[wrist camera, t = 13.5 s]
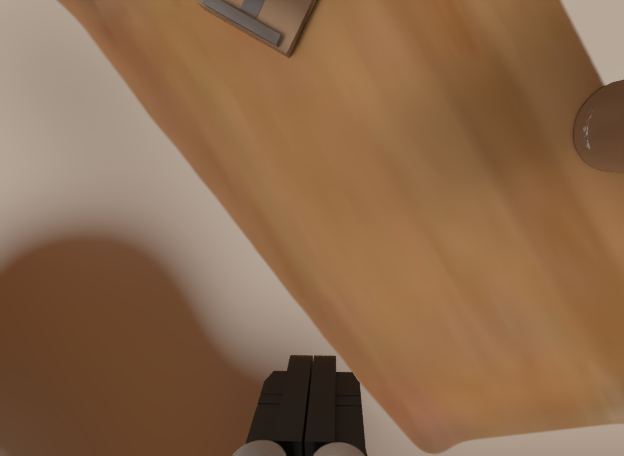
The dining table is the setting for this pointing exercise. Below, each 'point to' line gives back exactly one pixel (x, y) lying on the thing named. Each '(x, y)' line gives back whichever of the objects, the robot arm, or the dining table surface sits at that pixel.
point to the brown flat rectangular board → (265, 19)
